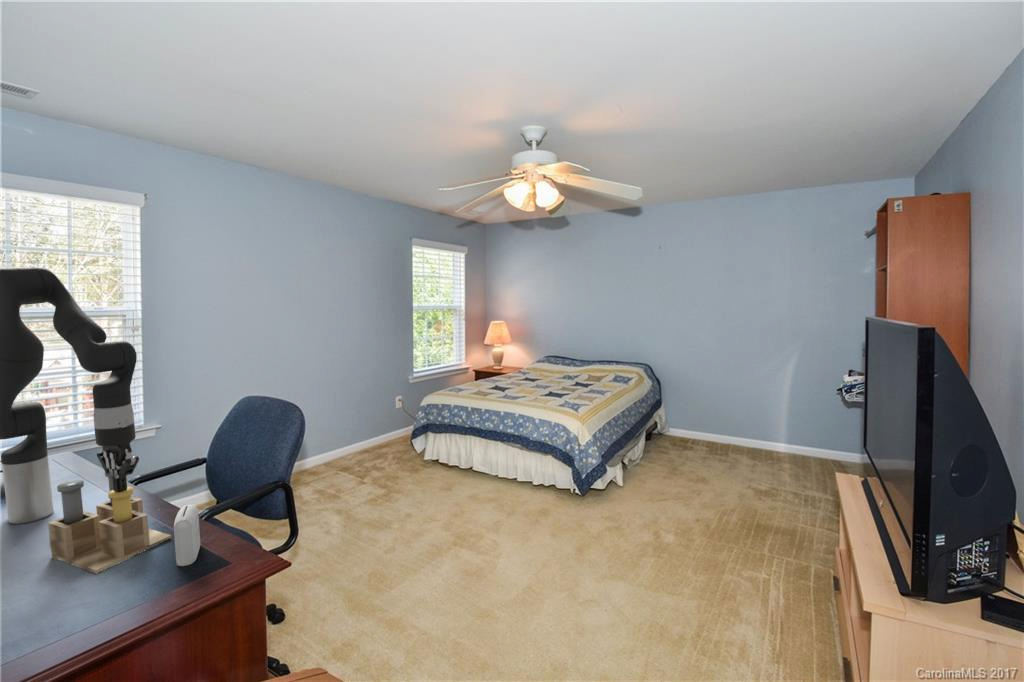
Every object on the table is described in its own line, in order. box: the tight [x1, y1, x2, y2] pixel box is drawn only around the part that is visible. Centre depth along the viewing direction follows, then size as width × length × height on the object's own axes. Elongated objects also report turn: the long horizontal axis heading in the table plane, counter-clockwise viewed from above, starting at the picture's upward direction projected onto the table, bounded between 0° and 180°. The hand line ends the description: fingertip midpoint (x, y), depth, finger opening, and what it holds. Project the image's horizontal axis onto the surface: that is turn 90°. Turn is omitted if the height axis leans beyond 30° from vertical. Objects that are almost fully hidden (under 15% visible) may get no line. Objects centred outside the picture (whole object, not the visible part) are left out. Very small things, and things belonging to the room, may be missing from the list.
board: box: [47, 496, 172, 575], centre depth 122 cm, size 18×17×9 cm
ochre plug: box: [107, 486, 134, 524], centre depth 119 cm, size 5×5×10 cm
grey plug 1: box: [56, 479, 85, 525], centre depth 118 cm, size 5×5×10 cm
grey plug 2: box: [104, 471, 114, 507], centre depth 127 cm, size 5×5×10 cm
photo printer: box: [173, 503, 201, 567], centre depth 118 cm, size 10×4×12 cm, turn 26°
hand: (120, 490), depth 118 cm, fingers closed
